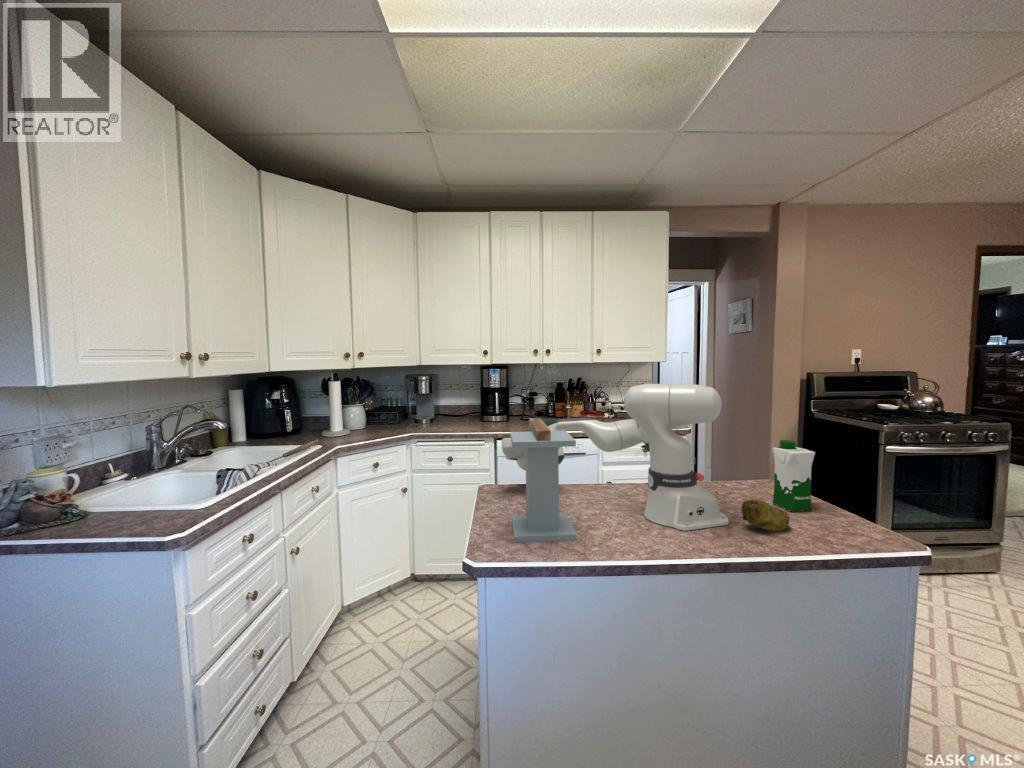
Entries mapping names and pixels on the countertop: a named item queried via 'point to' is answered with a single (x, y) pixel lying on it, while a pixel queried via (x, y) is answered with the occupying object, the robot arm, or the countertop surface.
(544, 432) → the block
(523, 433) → the stand
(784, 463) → the milk carton
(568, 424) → the robot arm
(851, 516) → the countertop surface
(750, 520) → the potato
